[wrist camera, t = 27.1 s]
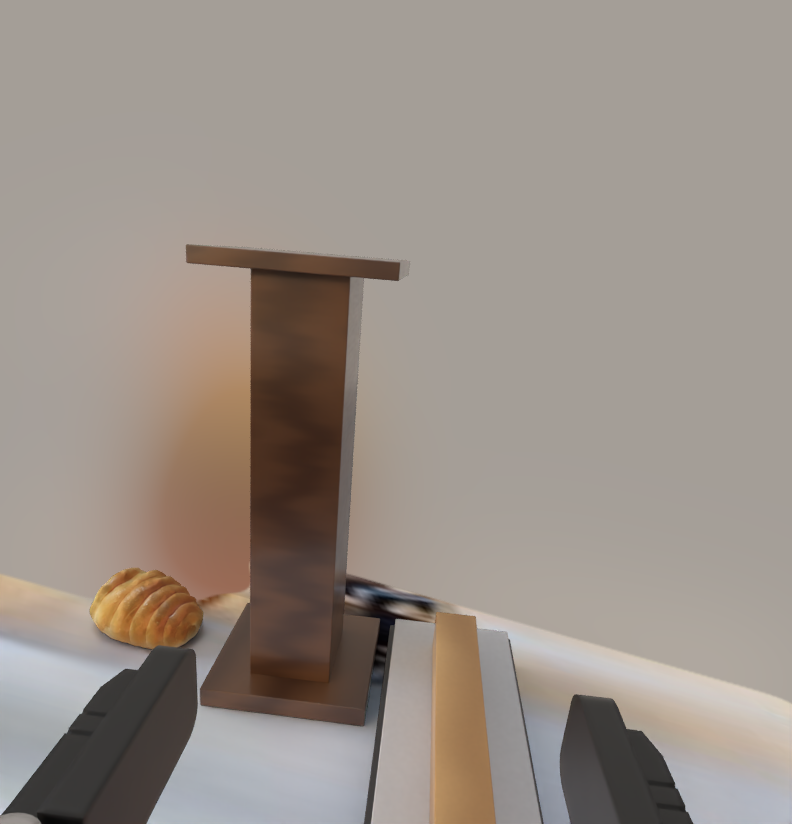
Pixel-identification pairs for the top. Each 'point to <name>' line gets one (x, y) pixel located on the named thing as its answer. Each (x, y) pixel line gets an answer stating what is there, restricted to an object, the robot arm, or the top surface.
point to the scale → (411, 731)
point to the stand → (300, 489)
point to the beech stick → (458, 727)
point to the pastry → (146, 609)
